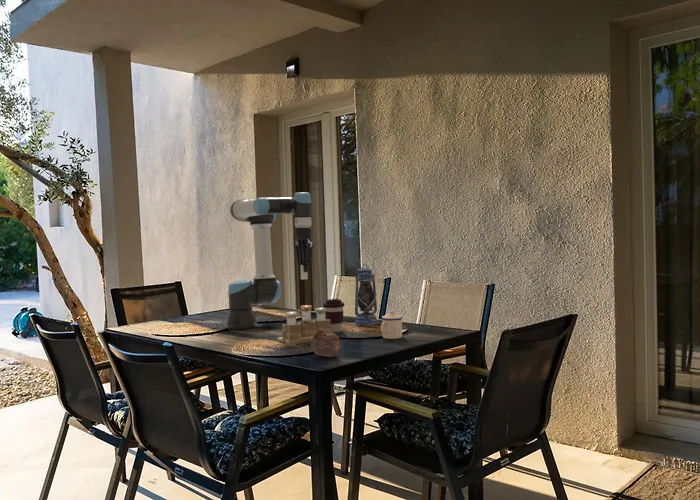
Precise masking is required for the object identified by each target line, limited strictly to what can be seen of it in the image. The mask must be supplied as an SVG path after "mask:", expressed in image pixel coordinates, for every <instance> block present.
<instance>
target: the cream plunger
mask: <svg viewBox="0 0 700 500" xmlns="http://www.w3.org/2000/svg"><path fill="white" fill-rule="evenodd" d="M284 314H285V317H286V324H287V325H288V326H292V325H296V323H297V316H298V311H287V312H285V313H284Z"/></svg>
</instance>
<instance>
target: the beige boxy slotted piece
mask: <svg viewBox="0 0 700 500" xmlns="http://www.w3.org/2000/svg"><path fill="white" fill-rule="evenodd" d="M320 330H322V331H324V333H326V334H327V335H331V334H334V335H336V336H337V333H331V320H328V319H326V320H325V321H317V318H316V319H311V323H302V321H296V325H292V326H288V325H287V323H285V324H284V323H282V324H281V335H282V336H279V337H277V341H278V342H280V341H281V343H284V342H286V343H285V344H288V343H290V344H289V345H293V344H294V345H298V344H297V343H300V344H304V343H303V342H305V343H309V341H311V342H312V339H313V337H314V335H315V334H316V333H317V332H319V331H320Z"/></svg>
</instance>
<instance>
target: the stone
mask: <svg viewBox="0 0 700 500" xmlns="http://www.w3.org/2000/svg"><path fill="white" fill-rule="evenodd" d="M334 334H335V333H334ZM334 334H331V335H327V334H326V333H324V331H322V330H320V331H319V332H317V333H316V334H315V335H314V337H313V339H312V341H311V345H312V350H313V353H314V354H315V355H317V356H322V357H324V358H326V357H328V358H332V357H333V358H334V357H335V356H337V355H338V353H339V350H340V347H341V342H340V337H339V336H338V335H337V334H336V335H334Z"/></svg>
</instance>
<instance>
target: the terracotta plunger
mask: <svg viewBox="0 0 700 500" xmlns="http://www.w3.org/2000/svg"><path fill="white" fill-rule="evenodd" d="M312 306H313V305H309V304H305V305H301V306H300V310H301V322H302V323H311V321H312V308H313V307H312Z"/></svg>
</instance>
